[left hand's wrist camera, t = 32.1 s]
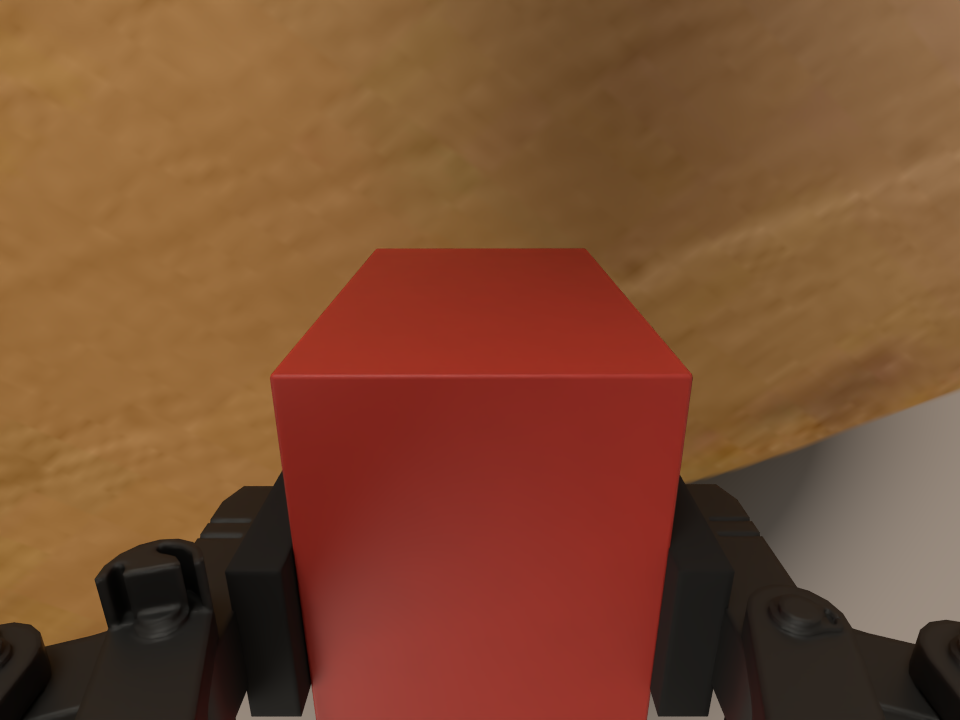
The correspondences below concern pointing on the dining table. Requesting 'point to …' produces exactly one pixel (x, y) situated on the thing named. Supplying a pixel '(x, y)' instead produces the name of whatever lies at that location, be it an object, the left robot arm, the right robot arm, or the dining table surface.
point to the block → (481, 488)
